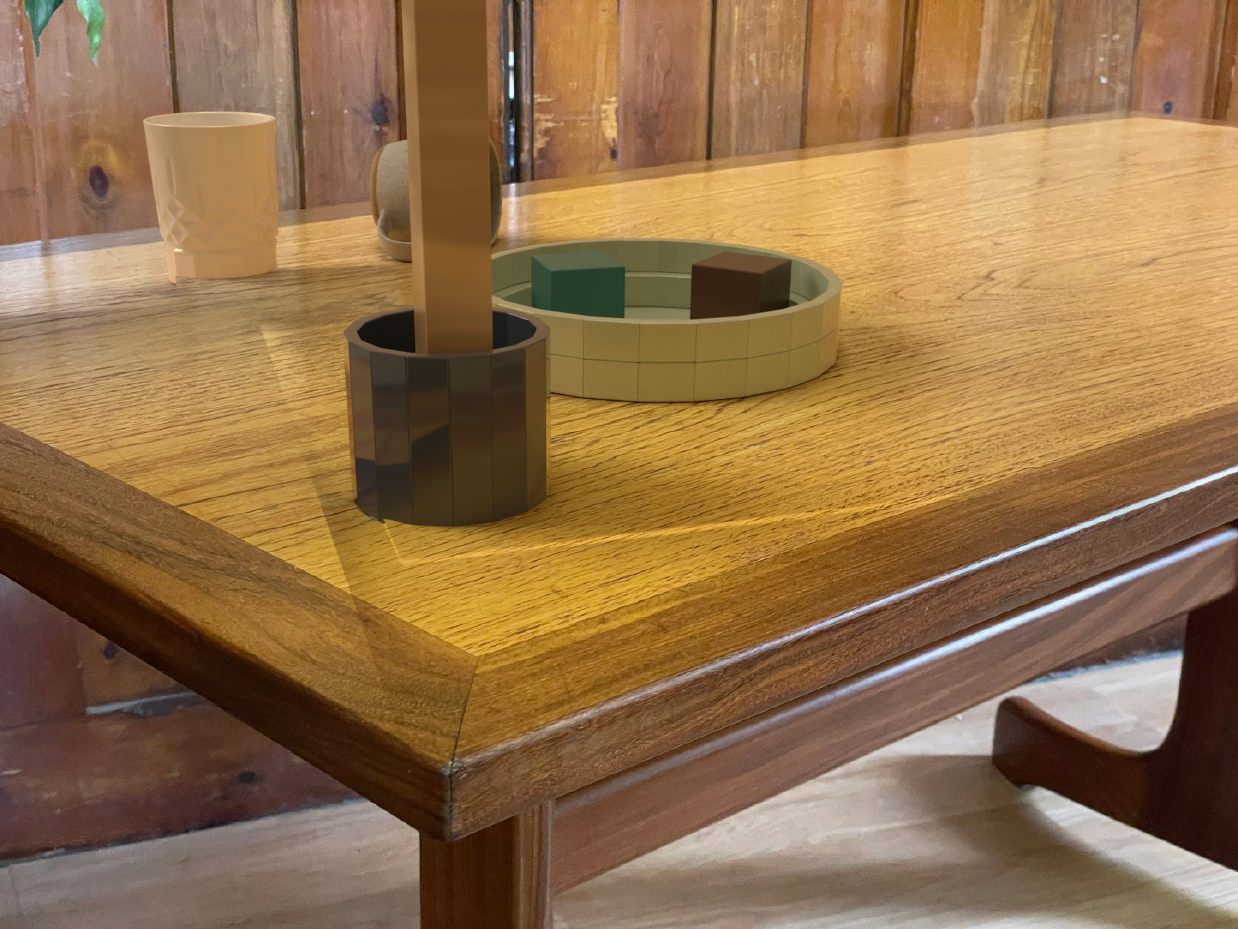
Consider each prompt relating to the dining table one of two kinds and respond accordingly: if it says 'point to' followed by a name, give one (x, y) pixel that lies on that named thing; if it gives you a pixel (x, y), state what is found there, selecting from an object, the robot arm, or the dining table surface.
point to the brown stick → (449, 173)
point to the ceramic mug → (395, 204)
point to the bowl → (677, 326)
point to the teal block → (578, 284)
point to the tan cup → (215, 192)
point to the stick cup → (448, 422)
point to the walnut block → (739, 285)
